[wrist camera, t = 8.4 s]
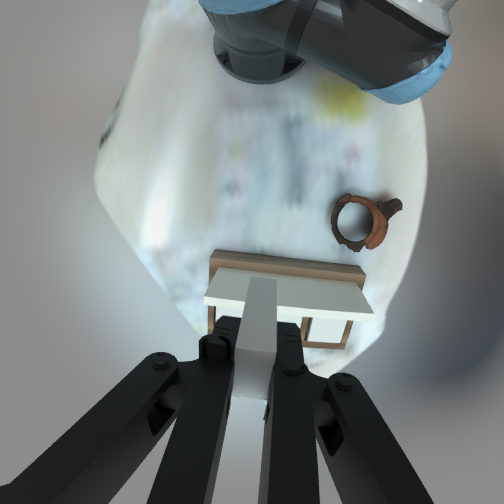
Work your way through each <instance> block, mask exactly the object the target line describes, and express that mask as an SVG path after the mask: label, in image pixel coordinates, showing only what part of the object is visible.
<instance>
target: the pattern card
mask: <svg viewBox="0 0 504 504" xmlns="http://www.w3.org/2000/svg"><path fill="white" fill-rule="evenodd" d="M251 276H253V277H262V278H271V279H277V314H282V315H291V316H302V317H313V318H325V319H338V320H353V321H371V322H372V320H373V317H374V312H373V310H372V309H371V307H370V305H369V304H368V302H367V300H366V298H365V297H364V295H363V293H362V292H361V290H360V288H359V287H358V285H357V283H356V282H348V281H338V280H329V279H319V278H310V277H301V276H292V275H283V274H274V273H265V272H257V271H248V270H240V269H232V268H224V267H219V268H218V270H217V271H216V273H215V275H214V277H213V279H212V281H211V283H210V285H209V287H208V289H207V291H206V293H205V294H204V302H203V305H210V306H217V307H224V308H232V309H239V310H244V305H245V301H246V296H247V292H248V287H249V282H250V278H251Z"/></svg>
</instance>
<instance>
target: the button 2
mask: <svg viewBox="0 0 504 504" xmlns="http://www.w3.org/2000/svg"><path fill="white" fill-rule="evenodd" d="M346 323H347V320H338V319H325V318H313V317H310V318H309V322H308V327H307V331H306V335H307V341H313V342H328V343H340V342H341V339H342V336H343V332H344V329H345V326H346Z"/></svg>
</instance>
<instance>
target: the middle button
mask: <svg viewBox="0 0 504 504" xmlns="http://www.w3.org/2000/svg"><path fill="white" fill-rule="evenodd" d="M277 321H280V322H290V323H296V324H297V326H298V327H299V328H300V327H301V322H302V316H291V315H282V314H277Z"/></svg>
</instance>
